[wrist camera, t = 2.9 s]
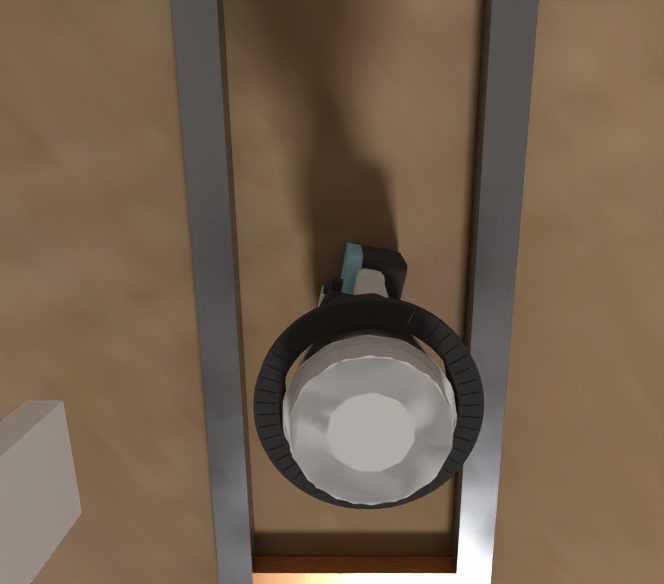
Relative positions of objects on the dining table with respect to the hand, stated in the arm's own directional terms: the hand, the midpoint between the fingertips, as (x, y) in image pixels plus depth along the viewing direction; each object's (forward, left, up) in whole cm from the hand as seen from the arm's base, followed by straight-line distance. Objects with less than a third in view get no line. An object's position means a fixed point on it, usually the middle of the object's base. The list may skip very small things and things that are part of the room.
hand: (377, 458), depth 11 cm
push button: (0, 0, -11) cm, 11 cm away
